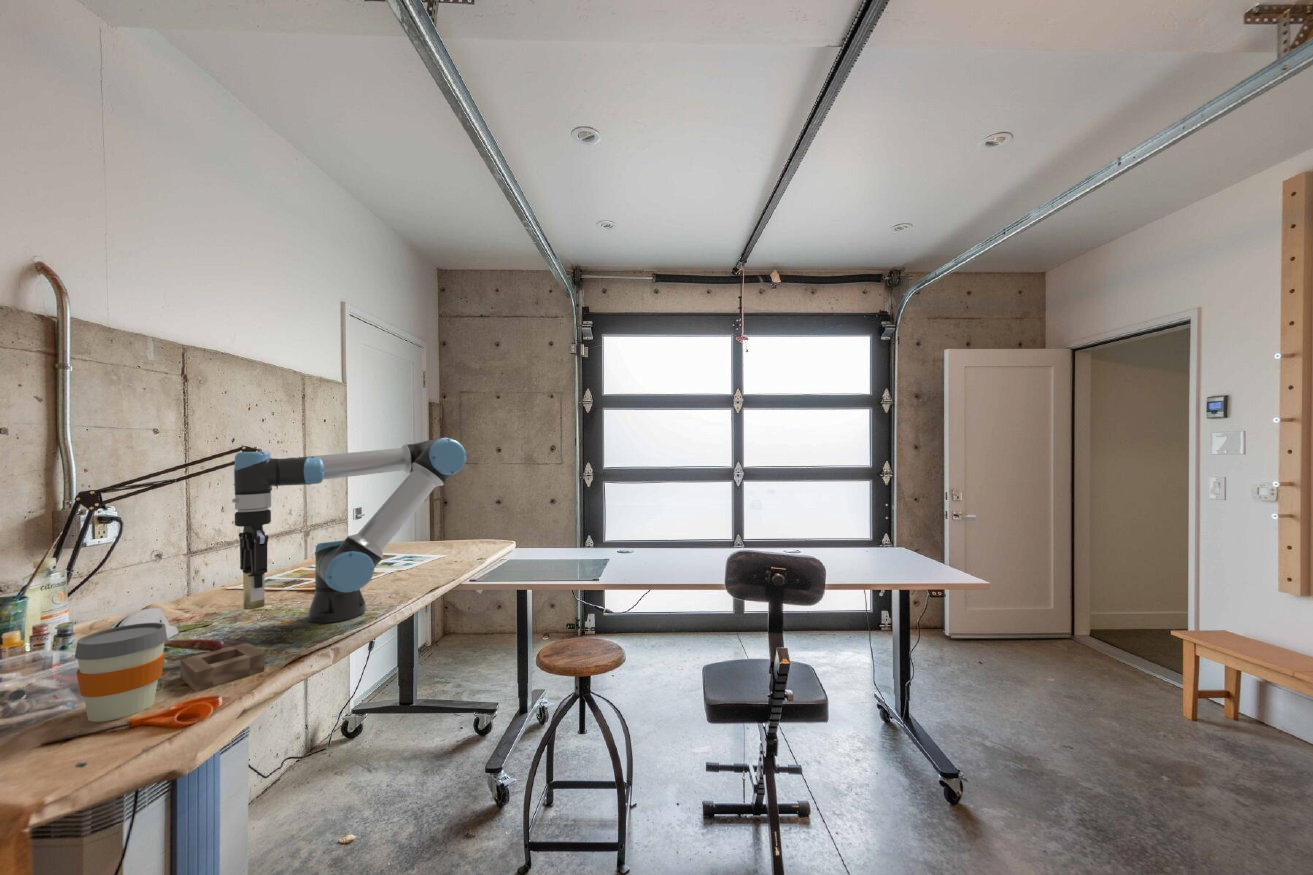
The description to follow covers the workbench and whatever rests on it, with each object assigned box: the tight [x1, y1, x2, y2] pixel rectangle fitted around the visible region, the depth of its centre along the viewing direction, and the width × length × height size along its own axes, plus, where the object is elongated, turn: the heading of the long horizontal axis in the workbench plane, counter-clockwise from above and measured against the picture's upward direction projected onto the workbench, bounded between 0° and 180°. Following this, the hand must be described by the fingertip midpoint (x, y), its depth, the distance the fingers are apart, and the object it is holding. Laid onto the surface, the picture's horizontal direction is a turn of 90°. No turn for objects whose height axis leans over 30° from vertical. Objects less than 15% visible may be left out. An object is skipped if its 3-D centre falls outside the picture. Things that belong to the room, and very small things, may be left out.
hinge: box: [109, 607, 179, 639], centre depth 135 cm, size 17×5×10 cm, turn 17°
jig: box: [179, 642, 266, 692], centre depth 115 cm, size 12×12×4 cm
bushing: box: [242, 572, 266, 611], centre depth 133 cm, size 4×4×9 cm
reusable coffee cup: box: [74, 623, 168, 723], centre depth 100 cm, size 13×12×15 cm
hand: (253, 598), depth 133 cm, fingers closed on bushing, 4 cm apart
